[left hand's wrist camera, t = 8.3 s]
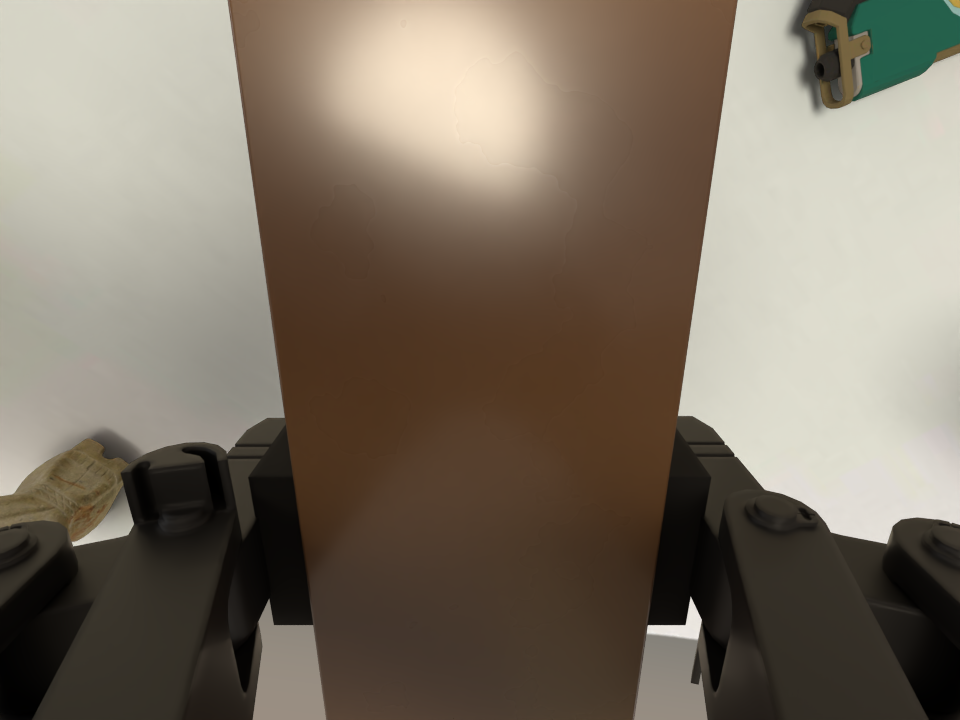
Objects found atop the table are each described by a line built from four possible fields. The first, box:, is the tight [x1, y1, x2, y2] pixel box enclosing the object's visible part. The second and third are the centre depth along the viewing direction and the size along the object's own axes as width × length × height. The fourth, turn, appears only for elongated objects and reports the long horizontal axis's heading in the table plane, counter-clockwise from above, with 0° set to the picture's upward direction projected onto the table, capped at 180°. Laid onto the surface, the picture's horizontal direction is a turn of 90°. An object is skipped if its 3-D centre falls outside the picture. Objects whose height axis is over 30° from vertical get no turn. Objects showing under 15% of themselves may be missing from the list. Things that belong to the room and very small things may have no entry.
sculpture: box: [0, 439, 129, 542], centre depth 30 cm, size 6×7×15 cm
